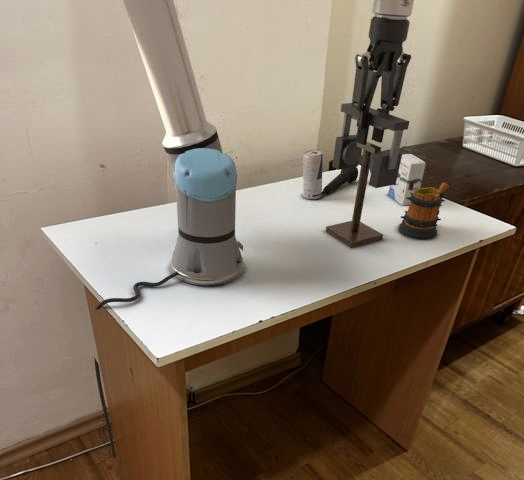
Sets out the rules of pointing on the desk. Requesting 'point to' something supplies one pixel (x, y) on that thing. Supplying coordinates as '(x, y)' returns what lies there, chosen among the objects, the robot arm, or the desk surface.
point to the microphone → (341, 179)
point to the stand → (358, 208)
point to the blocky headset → (384, 162)
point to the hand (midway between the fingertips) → (368, 141)
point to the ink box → (407, 178)
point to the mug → (423, 213)
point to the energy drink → (312, 174)
